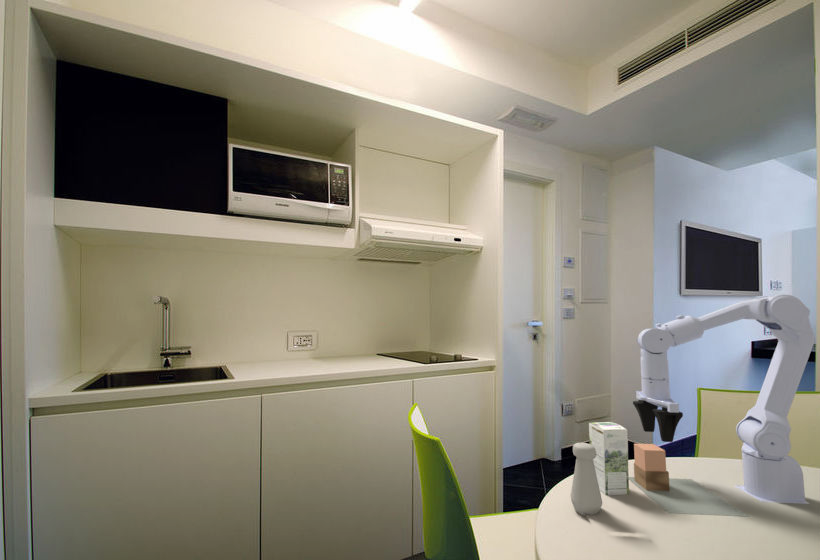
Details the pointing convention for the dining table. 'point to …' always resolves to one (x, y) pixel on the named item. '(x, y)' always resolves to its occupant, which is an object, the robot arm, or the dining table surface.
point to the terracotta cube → (650, 457)
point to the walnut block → (651, 479)
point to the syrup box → (610, 457)
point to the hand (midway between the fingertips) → (657, 436)
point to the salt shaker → (585, 481)
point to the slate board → (690, 499)
